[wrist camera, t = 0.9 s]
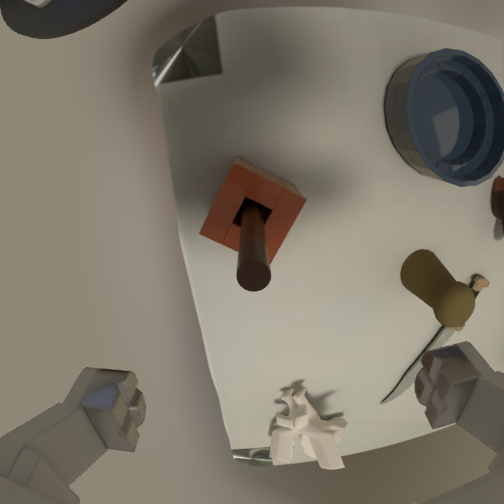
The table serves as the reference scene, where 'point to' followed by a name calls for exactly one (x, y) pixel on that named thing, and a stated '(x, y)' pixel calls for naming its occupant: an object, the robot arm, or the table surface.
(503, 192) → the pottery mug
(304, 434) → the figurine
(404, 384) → the knife
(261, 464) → the table surface
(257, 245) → the stick
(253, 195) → the holder
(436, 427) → the robot arm
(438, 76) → the bowl
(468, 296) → the pepper shaker
